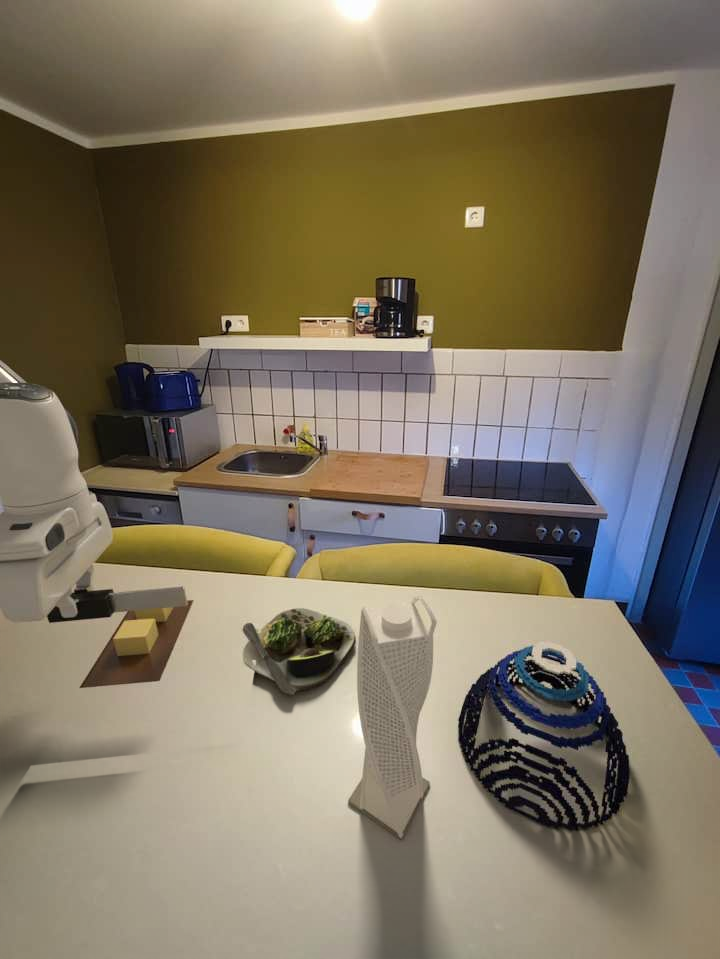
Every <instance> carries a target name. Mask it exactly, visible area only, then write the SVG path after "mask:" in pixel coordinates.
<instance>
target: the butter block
mask: <svg viewBox="0 0 720 959" xmlns="http://www.w3.org/2000/svg"><path fill="white" fill-rule="evenodd" d="M157 637H158V630H157V626H156V621H155V618H154V619H141V620H128V621H124V622H123V624H122V625H121V627H120V629H119V630H118V632H117V633H116V635H115V637H114V638H113V641H114V644H115V648H116V652H117V656H126V655H138V654H149V653H150V651H151V649H152V647H153V645H154V643H155V641H156V639H157Z"/></svg>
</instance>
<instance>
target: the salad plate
mask: <svg viewBox="0 0 720 959" xmlns="http://www.w3.org/2000/svg"><path fill="white" fill-rule="evenodd" d="M242 629H243V632H244V633H245V634H246V637H247V638H248V641H247V642H246V644H245V645H244V647H243V649H242V650H243V651H242V656H243V657H242V658H243V661H244V664H245V665H246V666H247V667H248V668H249V669H251V670H253V671H254V672H255V673H257V674H258V675H261V676H263V677H265V678H267V679H269V680H271V681H273V682H275V684H276V686H277V687H278V688H279V689H280V690H281V692H283V693H284V694H286V695H290V696H294V695H295V693H296V692H297V691H307V690H311V689H315V688H318V687H321V686H322V685H323V684H326V682H328V681H329V680H330V679H331V678H332V677H333V676H334V675H335V674H336V673H337V671H338V670H339V669H340V668H341V667H342V666H343V665H344V663H345V662H346V660H347V659H348V658H349V656H350V654H351V653H352V651H353V649H354V648H355V646H356V644H357V638H356V634H355V631H354V630H353V628H352V626H351V625H350V624H349V623H348V622H346V621H344V620H342V619H338V618H336V617H333V616H329V615H326V614H323V613H320V612H319V611H315V610H313V609H309V608H306V607H295V608H289V609H286V610H283V611H281V612H279V613H278V614H276V615H275V616H274V617H273V618H272V619H271V620H269V622H268V623H266V625H264V626H263V627H262V628H261V629H260V632H259V629H258V628H256V627H255V625H254V624H253V623H251V622H247V623H245V624H244V625H243V627H242ZM253 661H255V664H254V662H253Z"/></svg>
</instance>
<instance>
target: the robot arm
mask: <svg viewBox="0 0 720 959" xmlns="http://www.w3.org/2000/svg"><path fill="white" fill-rule="evenodd" d="M78 443H79V430H78V425H77V423H76V421H75V419H74V418H73V416H72V414H71V413H70V412H69V411H68V410H67V409H66V408H65V407H64V406H63V404H62V402H61V401H60V399H59V397H58V395H57V394H56V393H55V392H54V391H53V390H51V388H47V387H45V386H44V385H40V384H35V383H32V382H31V383H30V382H27V381H25V379H23V378H22V377H21V376H20V375H19V374H17V373H16V372H15V371H14V370H13V369H12V368H10V367H9V366H8V365H7V364H6V363H4V362H3V361H2V360H1V359H0V505H1V507H2V512H0V611H1V613H2V616H3V617H4V619H6V620H7V621H9V622H11V623H15V624H16V623H17V624H19V623H20V624H21V623H31V622H32V623H33V622H40V621H43V620H44V619H46V618H47V615H48V614H49V613H50V612H51V611H52V609H53V608H54V607H55V606H57V607H59V609H60V612H61V615H62V616H63V617H65V618H68V617H75V616H76V615H77V613H78V612H79V611H80V609H81V606H80V602H79V599H74V600H73V599H72V598H71V597H70V595H71V594H72V593H73V592H85V591H95V590H94V584H93V580H94V579H93V578H94V570H95V569H94V568H95V567H94V564H95V563H96V561H97V560H98V559H99V558H100V556H102V554H103V553H104V552H105V551H106V550H107V549H108V547H110V546H111V544H112V543H113V541H114V540H113V539H114V531H113V528H112V525H111V522H110V519H109V517H108V516H109V515H108V514H107V511H106V509H105V506H104V505H103V503H101V502H100V501H98V499H97V496H96V494H95V493H93V492H92V491H90V490H89V488H88V484H87V480H86V479H85V478H84V476H83V475H82V473H81V471H80V468H79V467H80V466H79V449H78ZM74 586H75V588H74V589H73V587H74ZM72 589H73V591H72Z"/></svg>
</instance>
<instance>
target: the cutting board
mask: <svg viewBox="0 0 720 959" xmlns="http://www.w3.org/2000/svg"><path fill="white" fill-rule="evenodd" d="M187 602H188V605H187V606H180V607H174V608H173V610H172V611H171V613H170V615H169V616H168V618H167V620H166V621H165V622H156V626H157V630H158V637H157V639H156V641H155V643H154V645H153V647H152V649H151V651H150V653H149V654H138V655H126V656H117V652H116V648H115V644H114V641H113V638H114V637H115V635H116V633H117V632H118V630H119V629H120V627H121V625H122V624H123V622H124V621H128V620H137V618H136V613H135V611H126V613H125V614H124V616H123V618H122V620H121V621H120V623H119V624H118V626H117V627H116V629H115V631H114V632H113V634H112V635H111V637H110V638H109V640H108V642H107V643H106V645H105V646H104V648H103V649H102V651H101V653H100V654H99V655H98V657H97V659H96V661H94V662H95V663H94V664H93V665H92V667H91V669H90V670H89V671H88V674H86V676H85V678H84V679H83V681H82V683H81V685H80V686H79V689H85V688H96V687H107V686H108V687H109V686H118V685H129V684H140V683H152V682H160V681H161V679H162V677H163V674H164V673H165V669H166V667H167V665H168V662H169V660H170V658H171V655H172V654H173V653H172V652H173V650H174V649H175V646H176V643H177V641H178V639H179V637H180V634H181V631H182V630H183V627H184V624H185V623H186V619H187V617H188V615H189V613H190V610H191V608H192V605H193V603H194V599H189V600H188V599H187Z"/></svg>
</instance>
